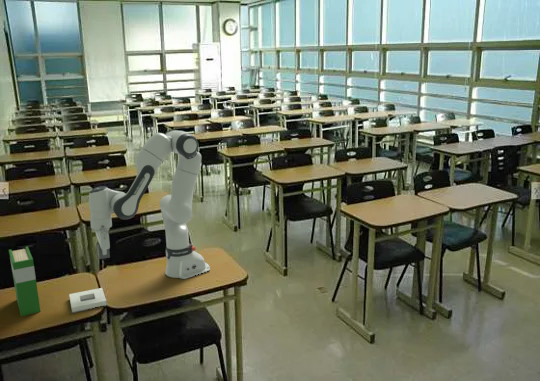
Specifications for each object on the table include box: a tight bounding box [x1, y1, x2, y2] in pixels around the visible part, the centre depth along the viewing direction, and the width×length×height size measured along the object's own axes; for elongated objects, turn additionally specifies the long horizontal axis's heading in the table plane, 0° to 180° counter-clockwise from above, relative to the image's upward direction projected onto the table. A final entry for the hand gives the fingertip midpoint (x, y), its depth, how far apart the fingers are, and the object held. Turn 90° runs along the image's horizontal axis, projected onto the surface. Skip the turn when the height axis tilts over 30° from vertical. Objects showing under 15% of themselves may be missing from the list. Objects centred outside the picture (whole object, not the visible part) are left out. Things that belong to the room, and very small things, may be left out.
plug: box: [96, 242, 111, 260], centre depth 211 cm, size 4×5×7 cm
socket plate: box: [68, 287, 108, 314], centre depth 207 cm, size 14×14×2 cm
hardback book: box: [8, 245, 41, 317], centre depth 202 cm, size 18×7×24 cm, turn 33°
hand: (103, 252), depth 212 cm, fingers closed on plug, 4 cm apart
